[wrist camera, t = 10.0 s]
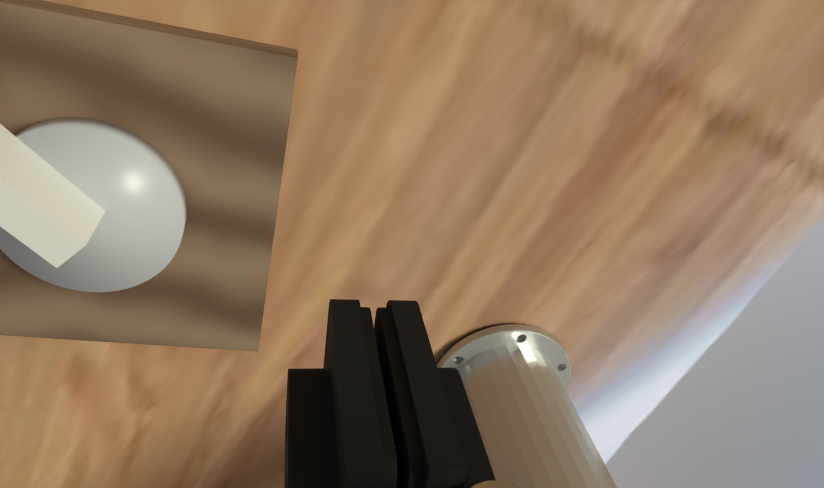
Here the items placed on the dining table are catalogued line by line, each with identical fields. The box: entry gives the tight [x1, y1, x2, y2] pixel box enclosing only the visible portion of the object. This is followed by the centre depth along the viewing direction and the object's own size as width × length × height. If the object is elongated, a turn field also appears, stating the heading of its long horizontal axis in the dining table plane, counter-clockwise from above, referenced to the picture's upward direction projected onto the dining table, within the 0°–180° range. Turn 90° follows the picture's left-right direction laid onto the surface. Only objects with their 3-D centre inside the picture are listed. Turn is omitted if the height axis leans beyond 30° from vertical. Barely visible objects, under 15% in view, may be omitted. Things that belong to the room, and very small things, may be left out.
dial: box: [0, 117, 187, 292], centre depth 33 cm, size 18×11×6 cm, turn 35°
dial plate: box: [0, 0, 298, 352], centre depth 38 cm, size 22×22×2 cm
